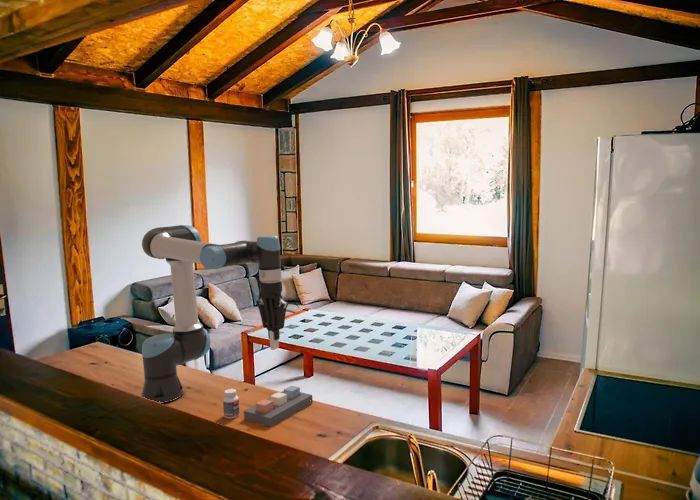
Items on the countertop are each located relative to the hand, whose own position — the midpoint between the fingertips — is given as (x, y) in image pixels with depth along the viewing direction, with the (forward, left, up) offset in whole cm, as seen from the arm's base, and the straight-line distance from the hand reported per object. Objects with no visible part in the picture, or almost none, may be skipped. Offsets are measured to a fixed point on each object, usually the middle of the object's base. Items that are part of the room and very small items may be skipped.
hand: (274, 348), depth 180 cm
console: (+1, 0, -22) cm, 22 cm away
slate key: (+1, +7, -21) cm, 22 cm away
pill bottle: (-11, -11, -23) cm, 28 cm away
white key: (+1, 0, -21) cm, 21 cm away
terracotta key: (+1, -7, -21) cm, 22 cm away
